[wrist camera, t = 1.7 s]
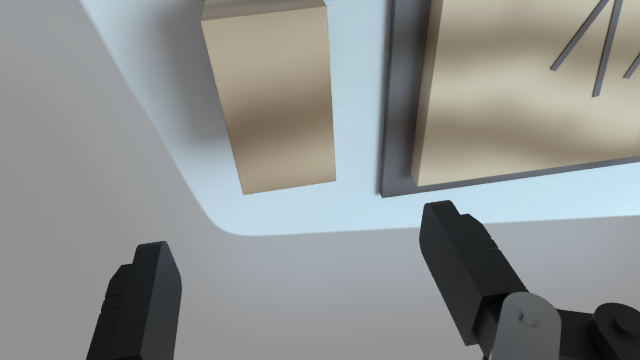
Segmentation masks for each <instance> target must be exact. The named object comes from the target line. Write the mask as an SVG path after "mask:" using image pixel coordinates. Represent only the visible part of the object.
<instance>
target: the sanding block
mask: <svg viewBox="0 0 640 360" xmlns="http://www.w3.org/2000/svg"><path fill="white" fill-rule="evenodd" d="M200 22H201V26H202V30H203V34H204V38H205V42H206V46H207V50H208V54H209V58H210V62H211V66H212V70H213V74H214V78H215V82H216V87H217V91H218V95H219V99H220V103H221V107H222V111H223V115H224V119H225V123H226V127H227V131H228V135H229V139H230V143H231V147H232V152H233V156H234V160H235V164H236V168H237V172H238V176H239V180H240V184H241V188H242V192H243V195H247V194H253V193H260V192H266V191H273V190H279V189H286V188H292V187H299V186H306V185H312V184H319V183H325V182H332V181H336V170H335V151H334V133H333V114H332V96H331V78H330V59H329V41H328V22H327V6H326V4H325V3H324V1H323V0H205V3H204V8H203V12H202V16H201V21H200Z"/></svg>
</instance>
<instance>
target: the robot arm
mask: <svg viewBox="0 0 640 360" xmlns="http://www.w3.org/2000/svg"><path fill="white" fill-rule="evenodd" d="M419 242H420V248H421V252H422V255H423V257H424V259H425V261H426V263H427V265H428V268H429V270H430V272H431V274H432V276H433V278H434V280H435V282H436V284H437V286H438V288H439V291H440V292H441V295H442V297H443V299H444V301H445V303H446V305H447V307H448V309H449V311H450V314H451V316H452V318H453V320H454V322H455V324H456V326H457V328H458V330H459V333H460V335H461V337H462V339H463V341H464V343H465V345H466V346H469V345H475V344H479V346H480V348H481V350H482V351H483V356H482V359H481V360H640V312H639V311H637V310H636V309H634V308H632V307H629V306H627V305H624V304H619V303H605V304H602V305H600V306H599V307H598V308H597V309H596V311H595V312H594V314H590V313H582V312H574V311H566V310H560V309H556V308H554V307H553V305H552V304H550V303H549V302H548V301H547V300H545V299H544V298H542V297H540V296H538V295H535V294H532V293H530V292H529V291H528V290H527V289H526V287H525V286H524V284H523V283H522V282H521V280H520V279H519V277H518V276H517V274H516V273H515V271H514V270H513V269H512V267H511V265H510V264H509V262H508V261H507V259H506V258H505V257H504V255H503V254H502V252H501V251H500V250H499V249H498V246H497V245H496V243H495V242H494V240H492V239H491V236H490V235H489V233H488V232H487V230H486V229H485V227H484V226H483V224H482V223H480V222H479V221H478V220H476V219H475V218H474V217H472V216H471V215H470V214H463V215H460V214H459V212H458V210H457V209H456V207H455V206H454V204H453V203H452V202H451V201H450V200H445V201H438V202H431V203H426V204H425V205H424V209H423V216H422V222H421V229H420V236H419ZM181 293H182V284H181V277H180V273H179V270H178V268H177V266H176V263H175V261H174V258H173V256H172V253H171V251H170V248H169V246H168V244H167V242H166V241H160V242H154V243H147V244H140V245H138V246H137V248H136V252H135V256H134V260H133V263H132V264H126V265H121V267H120V268H119V269H118V270H117V272H116V273H115V274H114V276H113V277H112V278H111V280H110V282H109V285H108V288H107V292H106V295H105V300H104V302H103V305H102V308H101V314H100V315H99V318H98V321H97V325H96V328H95V331H94V335H93V338H92V341H91V345H90V348H89V351H88V354H87V358H86V360H173V357H174V349H175V340H176V333H177V324H178V316H179V310H180V302H181Z"/></svg>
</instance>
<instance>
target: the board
mask: <svg viewBox="0 0 640 360" xmlns="http://www.w3.org/2000/svg"><path fill="white" fill-rule="evenodd" d="M635 162H640V0H392V15H391V30H390V45H389V61H388V76H387V92H386V107H385V123H384V138H383V154H382V169H381V185H380V194H381V197H382V198H386V197H393V196H401V195H408V194H415V193H422V192H429V191H436V190H443V189H450V188H457V187H464V186H471V185H479V184H486V183H493V182H500V181H507V180H514V179H521V178H528V177H535V176H542V175H549V174H557V173H564V172H571V171H578V170H585V169H592V168H599V167H606V166H613V165H620V164H627V163H635Z"/></svg>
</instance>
